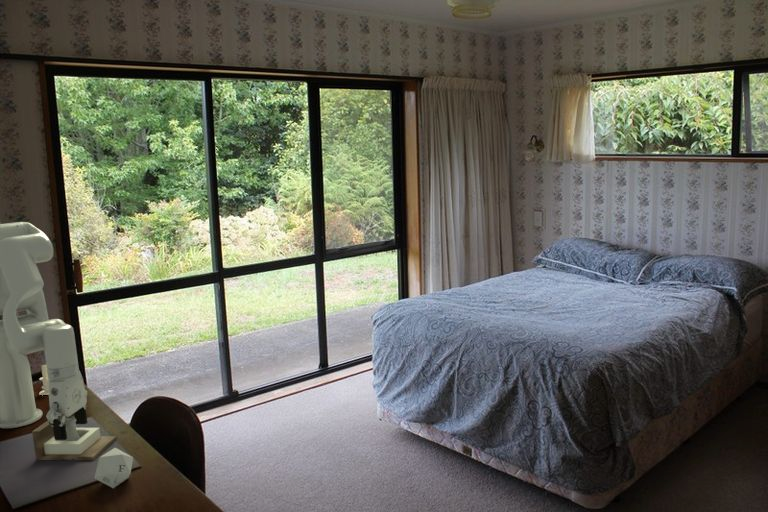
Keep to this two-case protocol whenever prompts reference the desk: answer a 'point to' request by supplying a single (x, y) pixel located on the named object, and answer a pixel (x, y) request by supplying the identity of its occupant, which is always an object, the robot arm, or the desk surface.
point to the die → (114, 467)
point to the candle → (44, 381)
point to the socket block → (73, 442)
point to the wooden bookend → (91, 453)
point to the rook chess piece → (71, 429)
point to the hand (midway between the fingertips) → (71, 431)
